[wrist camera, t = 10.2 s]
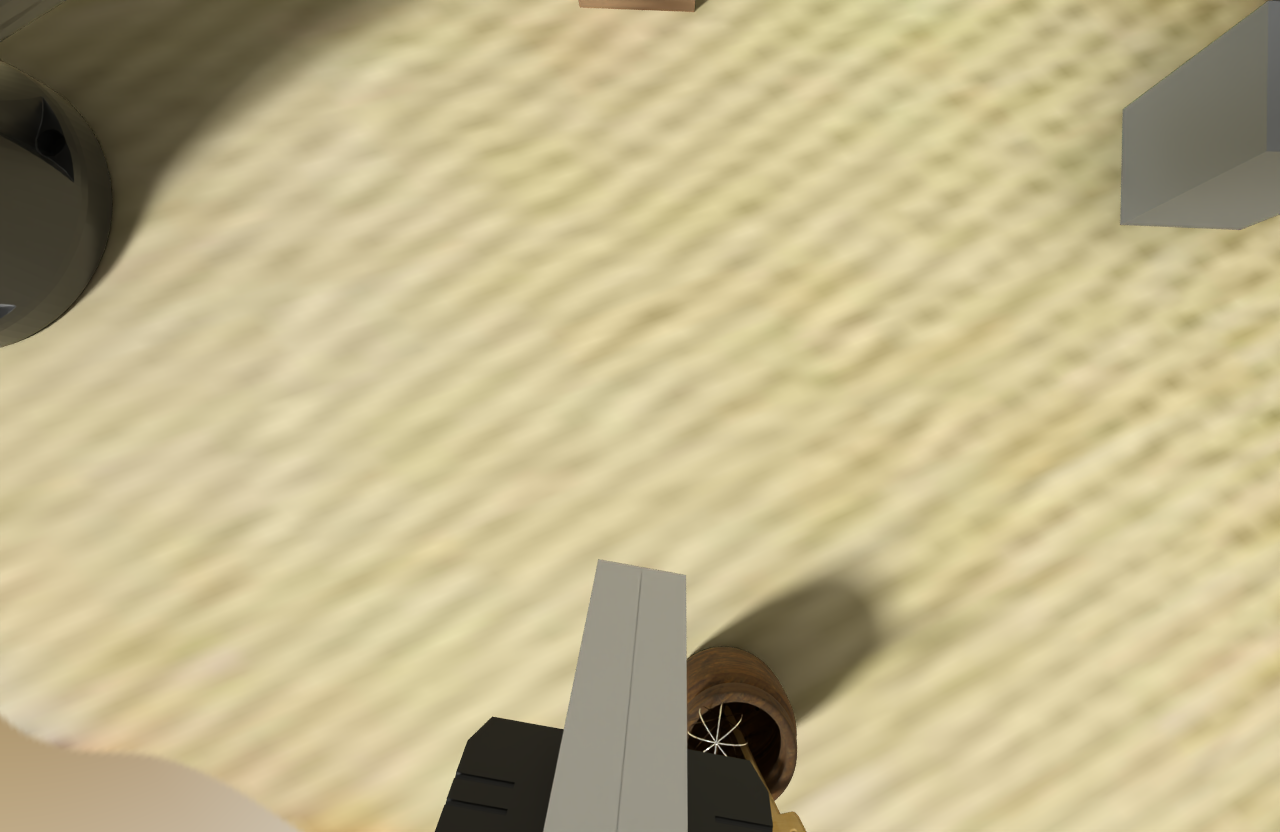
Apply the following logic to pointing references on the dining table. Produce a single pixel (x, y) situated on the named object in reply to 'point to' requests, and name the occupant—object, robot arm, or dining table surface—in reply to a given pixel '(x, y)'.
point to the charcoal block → (1209, 135)
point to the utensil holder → (743, 719)
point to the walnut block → (641, 4)
